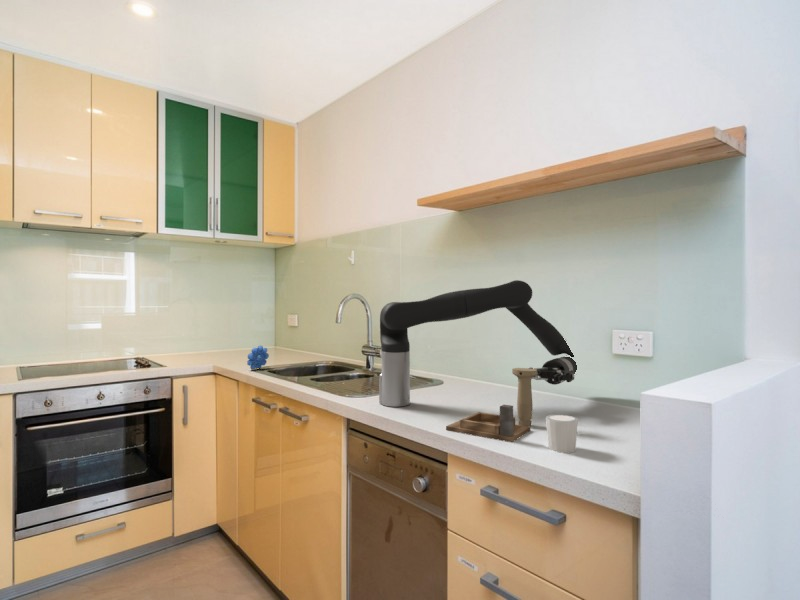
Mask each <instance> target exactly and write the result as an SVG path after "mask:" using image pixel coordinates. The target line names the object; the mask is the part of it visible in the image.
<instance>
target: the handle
mask: <svg viewBox="0 0 800 600" xmlns="http://www.w3.org/2000/svg"><path fill="white" fill-rule="evenodd" d="M529 368H530V367H529ZM529 368H528V367H515V368H514V367H513V368H512V375H514V376H515V377H517V382H518V383H517V401H516V410H517V411H516V412H517V418H518V425H523V426H529V427H531V426H532V419H533V393H532V379H531V378H532V377H534V376H536V375H537V370H536V369H534V368H533V369H529Z"/></svg>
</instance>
